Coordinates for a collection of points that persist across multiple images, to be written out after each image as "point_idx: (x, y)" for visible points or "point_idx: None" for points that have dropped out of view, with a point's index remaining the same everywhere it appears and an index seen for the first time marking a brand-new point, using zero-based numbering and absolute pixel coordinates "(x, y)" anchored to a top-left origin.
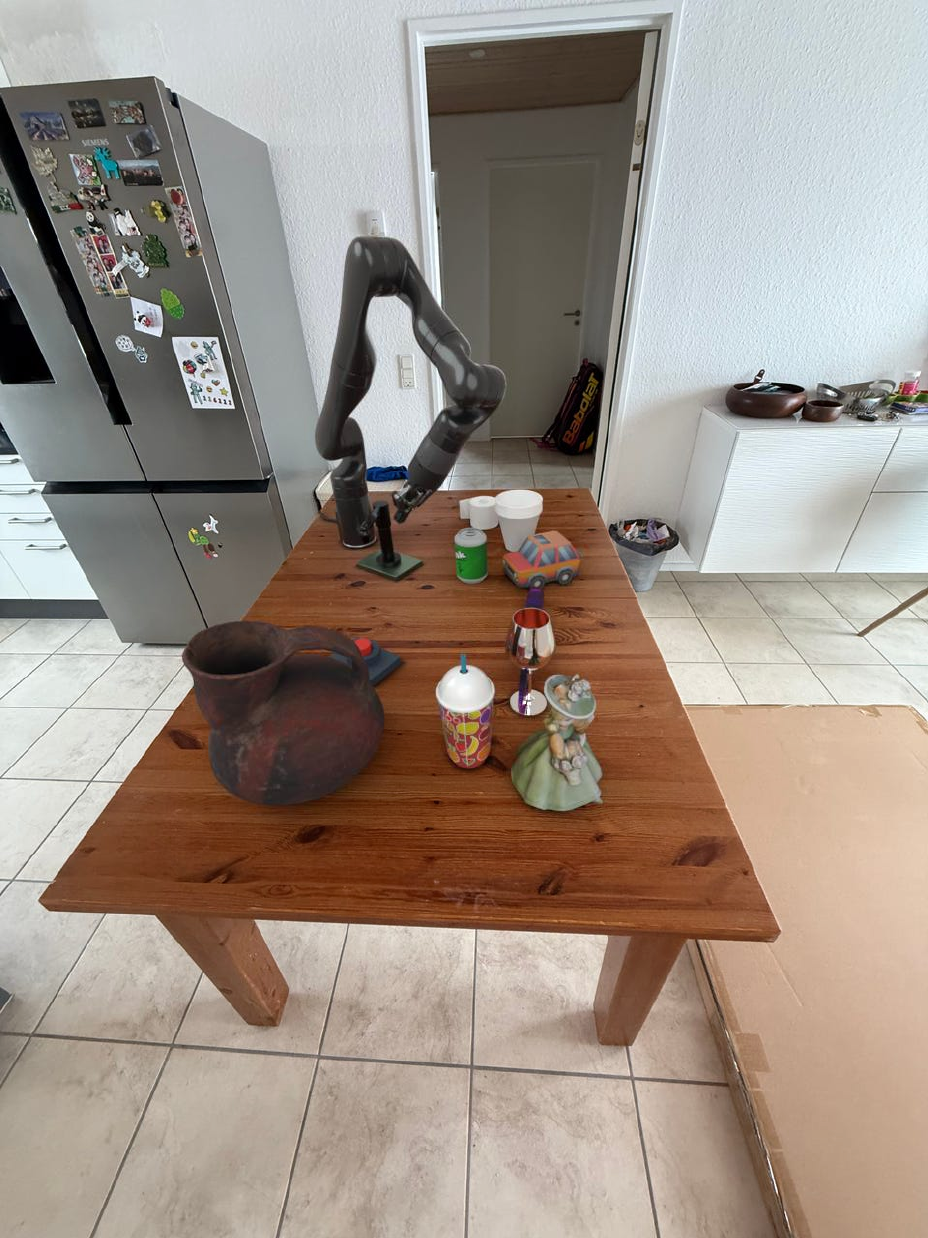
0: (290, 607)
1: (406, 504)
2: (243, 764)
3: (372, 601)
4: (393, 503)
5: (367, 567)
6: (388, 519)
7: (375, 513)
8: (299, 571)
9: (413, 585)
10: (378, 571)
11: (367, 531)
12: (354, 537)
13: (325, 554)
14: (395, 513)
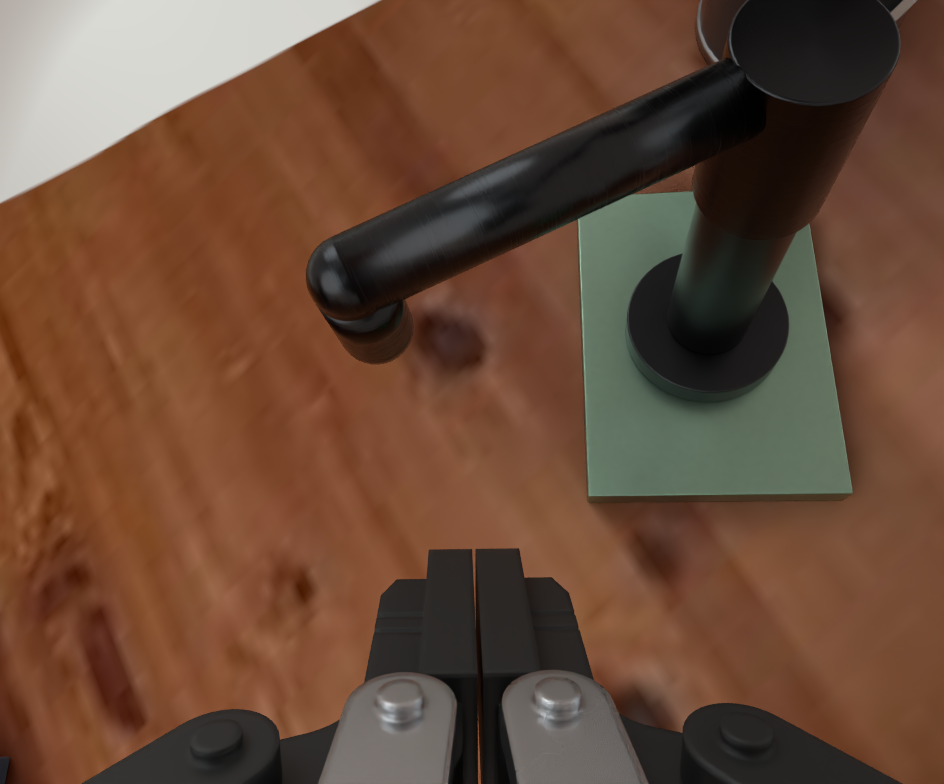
0: (139, 243)
1: (502, 778)
2: None
3: (351, 534)
4: (119, 764)
5: (579, 277)
6: (784, 202)
7: (612, 158)
8: (392, 41)
9: (610, 625)
10: (582, 358)
11: (347, 323)
12: (731, 19)
13: (579, 7)
14: (377, 625)
